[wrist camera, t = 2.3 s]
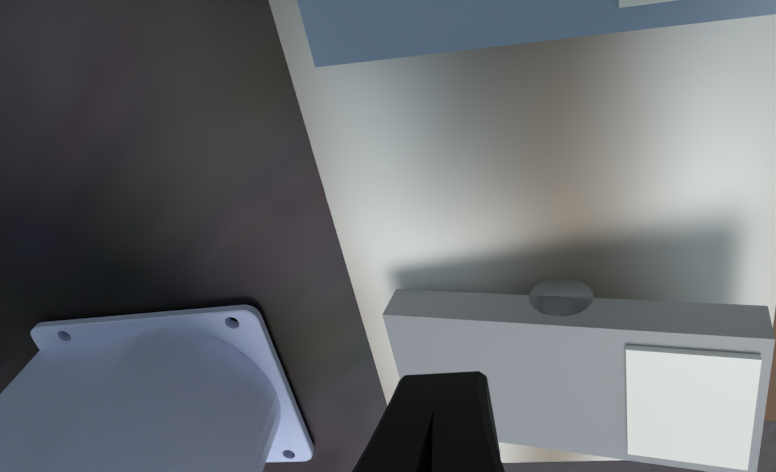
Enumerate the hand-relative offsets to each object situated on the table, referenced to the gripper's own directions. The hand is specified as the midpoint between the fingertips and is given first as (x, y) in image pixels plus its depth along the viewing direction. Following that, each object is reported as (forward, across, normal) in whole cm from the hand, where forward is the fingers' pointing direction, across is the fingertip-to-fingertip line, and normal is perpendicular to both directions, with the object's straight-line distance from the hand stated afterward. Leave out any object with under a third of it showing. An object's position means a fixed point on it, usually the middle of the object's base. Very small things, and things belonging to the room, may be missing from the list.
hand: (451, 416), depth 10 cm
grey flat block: (+5, -2, +3) cm, 6 cm away
